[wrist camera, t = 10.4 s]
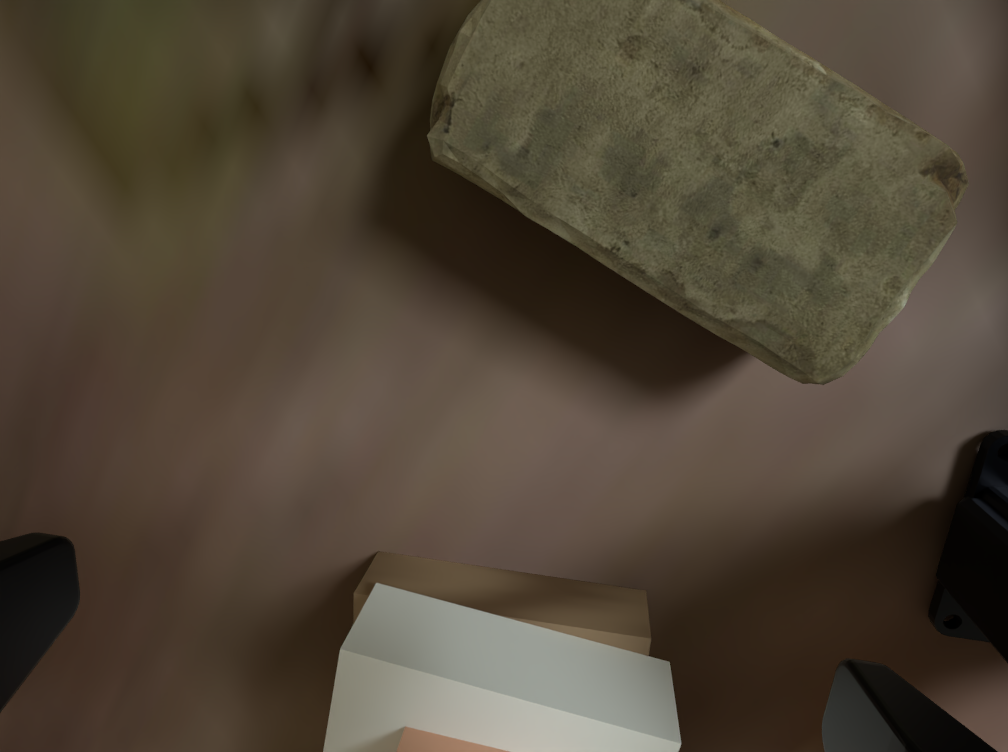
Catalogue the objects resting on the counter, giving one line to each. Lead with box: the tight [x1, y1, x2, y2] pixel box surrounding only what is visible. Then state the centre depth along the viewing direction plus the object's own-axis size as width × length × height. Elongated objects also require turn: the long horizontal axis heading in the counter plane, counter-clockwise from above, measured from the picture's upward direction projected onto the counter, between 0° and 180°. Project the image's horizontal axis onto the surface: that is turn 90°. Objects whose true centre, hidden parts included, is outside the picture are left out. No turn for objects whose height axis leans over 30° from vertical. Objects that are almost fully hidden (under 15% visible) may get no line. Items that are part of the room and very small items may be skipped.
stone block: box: [427, 0, 969, 385], centre depth 16 cm, size 6×12×5 cm, turn 61°
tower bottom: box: [353, 551, 651, 656], centre depth 23 cm, size 9×9×3 cm
